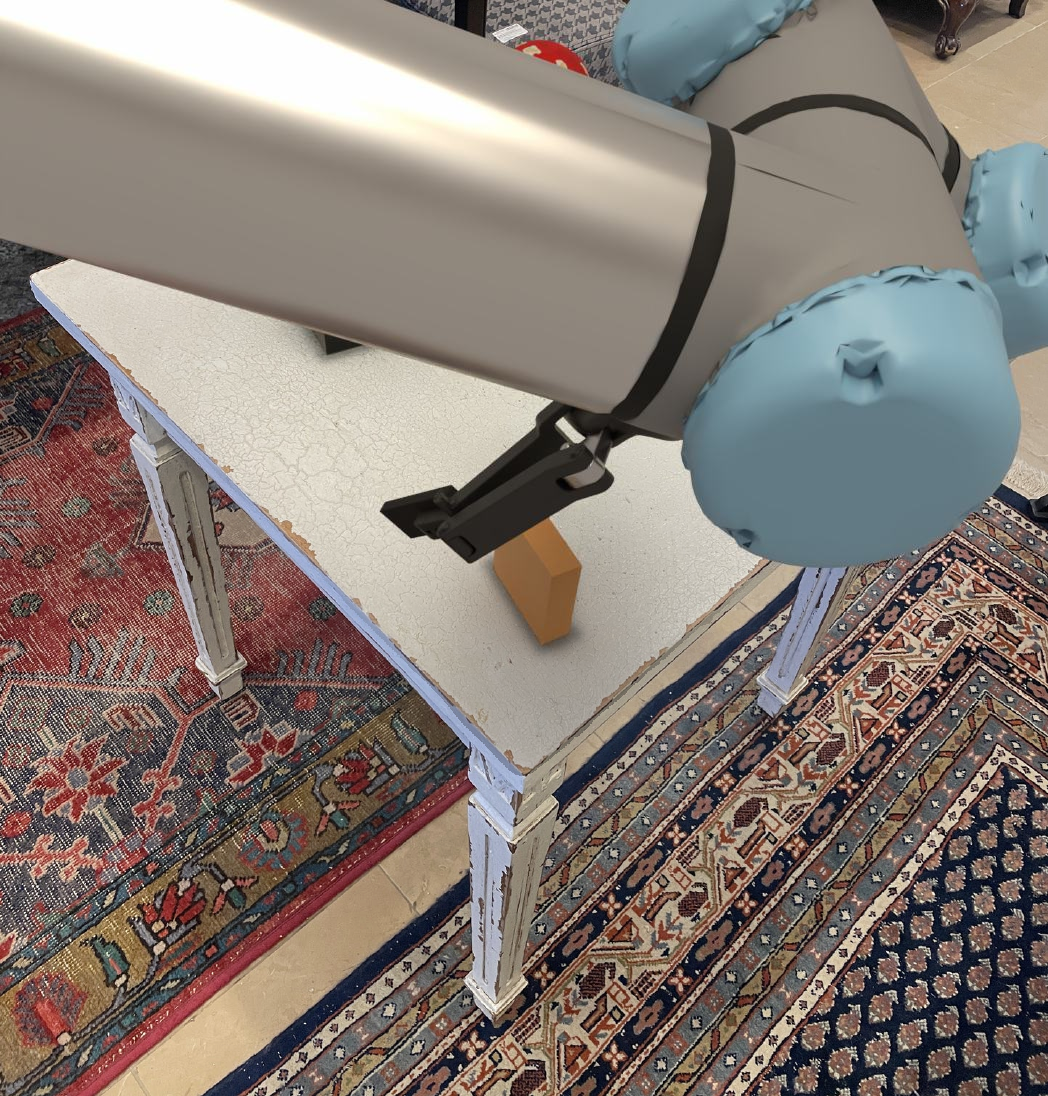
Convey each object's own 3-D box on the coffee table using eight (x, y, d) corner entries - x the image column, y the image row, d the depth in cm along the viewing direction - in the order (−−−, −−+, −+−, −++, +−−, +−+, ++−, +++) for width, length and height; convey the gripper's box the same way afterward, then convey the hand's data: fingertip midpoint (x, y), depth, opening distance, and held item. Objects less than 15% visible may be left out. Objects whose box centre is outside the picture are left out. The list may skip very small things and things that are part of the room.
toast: (541, 645, 72) (551, 577, 65) (492, 568, 76) (498, 496, 69) (569, 633, 72) (582, 565, 66) (519, 558, 77) (527, 486, 70)
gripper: (681, 611, 42) (399, 633, 57) (818, 239, 53) (553, 342, 69) (575, 504, 38) (305, 559, 53) (747, 130, 50) (485, 264, 65)
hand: (444, 437), depth 61 cm, fingers open, 13 cm apart
